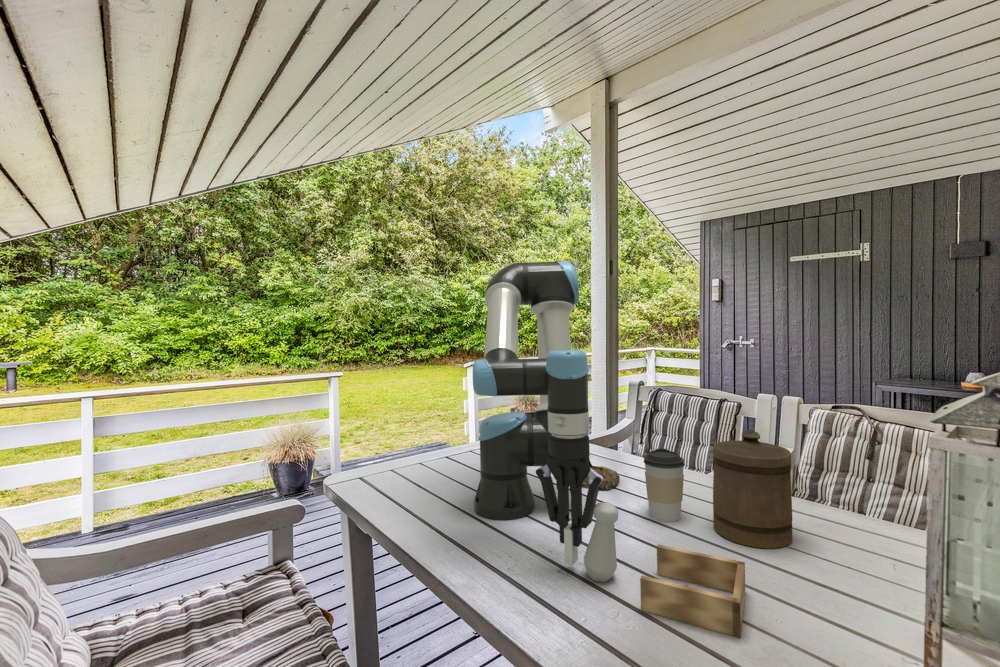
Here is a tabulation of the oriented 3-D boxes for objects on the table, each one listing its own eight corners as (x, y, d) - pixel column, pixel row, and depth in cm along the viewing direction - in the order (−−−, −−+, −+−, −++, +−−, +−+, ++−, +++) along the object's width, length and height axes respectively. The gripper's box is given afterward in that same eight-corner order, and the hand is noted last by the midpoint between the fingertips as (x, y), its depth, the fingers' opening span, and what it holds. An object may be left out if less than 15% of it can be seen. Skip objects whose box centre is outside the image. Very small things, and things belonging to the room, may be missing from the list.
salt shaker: (579, 578, 82) (586, 508, 81) (586, 561, 87) (592, 495, 86) (612, 589, 80) (620, 516, 79) (617, 571, 85) (625, 503, 84)
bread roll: (625, 480, 136) (624, 463, 136) (610, 494, 125) (610, 475, 125) (583, 474, 143) (583, 458, 143) (566, 486, 132) (566, 468, 132)
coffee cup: (689, 524, 104) (687, 458, 104) (646, 522, 106) (645, 456, 106) (681, 509, 113) (680, 447, 113) (642, 507, 115) (641, 446, 115)
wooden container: (806, 536, 97) (804, 431, 97) (769, 556, 89) (766, 442, 89) (737, 513, 110) (735, 420, 110) (699, 529, 102) (697, 429, 102)
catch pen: (640, 609, 74) (640, 578, 73) (658, 571, 85) (657, 544, 85) (740, 637, 66) (740, 602, 66) (745, 592, 78) (744, 562, 78)
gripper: (527, 434, 86) (530, 562, 86) (595, 442, 79) (598, 580, 79) (545, 427, 92) (547, 545, 93) (609, 433, 86) (612, 561, 86)
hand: (571, 561), depth 86 cm, fingers closed
